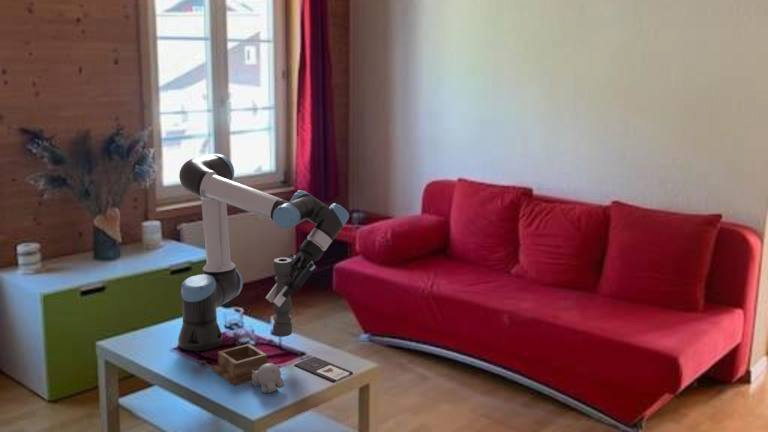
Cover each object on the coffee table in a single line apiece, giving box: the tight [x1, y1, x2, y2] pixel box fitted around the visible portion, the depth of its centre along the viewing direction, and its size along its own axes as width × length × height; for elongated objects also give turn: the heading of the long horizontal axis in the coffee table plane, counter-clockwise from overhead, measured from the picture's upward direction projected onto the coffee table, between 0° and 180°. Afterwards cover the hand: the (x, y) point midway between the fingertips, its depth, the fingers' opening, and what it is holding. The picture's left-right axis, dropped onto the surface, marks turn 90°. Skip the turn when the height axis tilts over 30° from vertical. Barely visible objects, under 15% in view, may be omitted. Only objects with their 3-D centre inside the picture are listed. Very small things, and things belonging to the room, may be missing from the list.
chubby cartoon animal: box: [251, 362, 286, 394], centre depth 238 cm, size 7×12×8 cm, turn 48°
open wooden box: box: [212, 343, 268, 386], centre depth 249 cm, size 14×14×6 cm
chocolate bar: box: [293, 356, 353, 383], centre depth 253 cm, size 9×1×18 cm
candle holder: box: [272, 257, 293, 337], centre depth 252 cm, size 6×6×25 cm
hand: (272, 302), depth 250 cm, fingers closed on candle holder, 4 cm apart
